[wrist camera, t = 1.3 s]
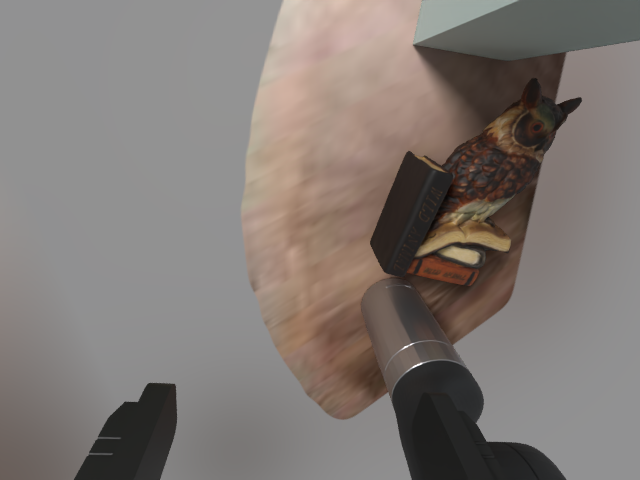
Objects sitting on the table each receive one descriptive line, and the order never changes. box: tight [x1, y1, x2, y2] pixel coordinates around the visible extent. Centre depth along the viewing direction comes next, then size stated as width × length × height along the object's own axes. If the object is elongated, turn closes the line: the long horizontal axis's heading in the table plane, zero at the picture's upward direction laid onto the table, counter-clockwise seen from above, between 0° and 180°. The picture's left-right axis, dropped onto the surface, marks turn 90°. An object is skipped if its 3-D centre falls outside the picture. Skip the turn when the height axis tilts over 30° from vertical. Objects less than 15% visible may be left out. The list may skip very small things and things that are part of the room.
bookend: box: [370, 78, 582, 286], centre depth 41 cm, size 15×11×25 cm
